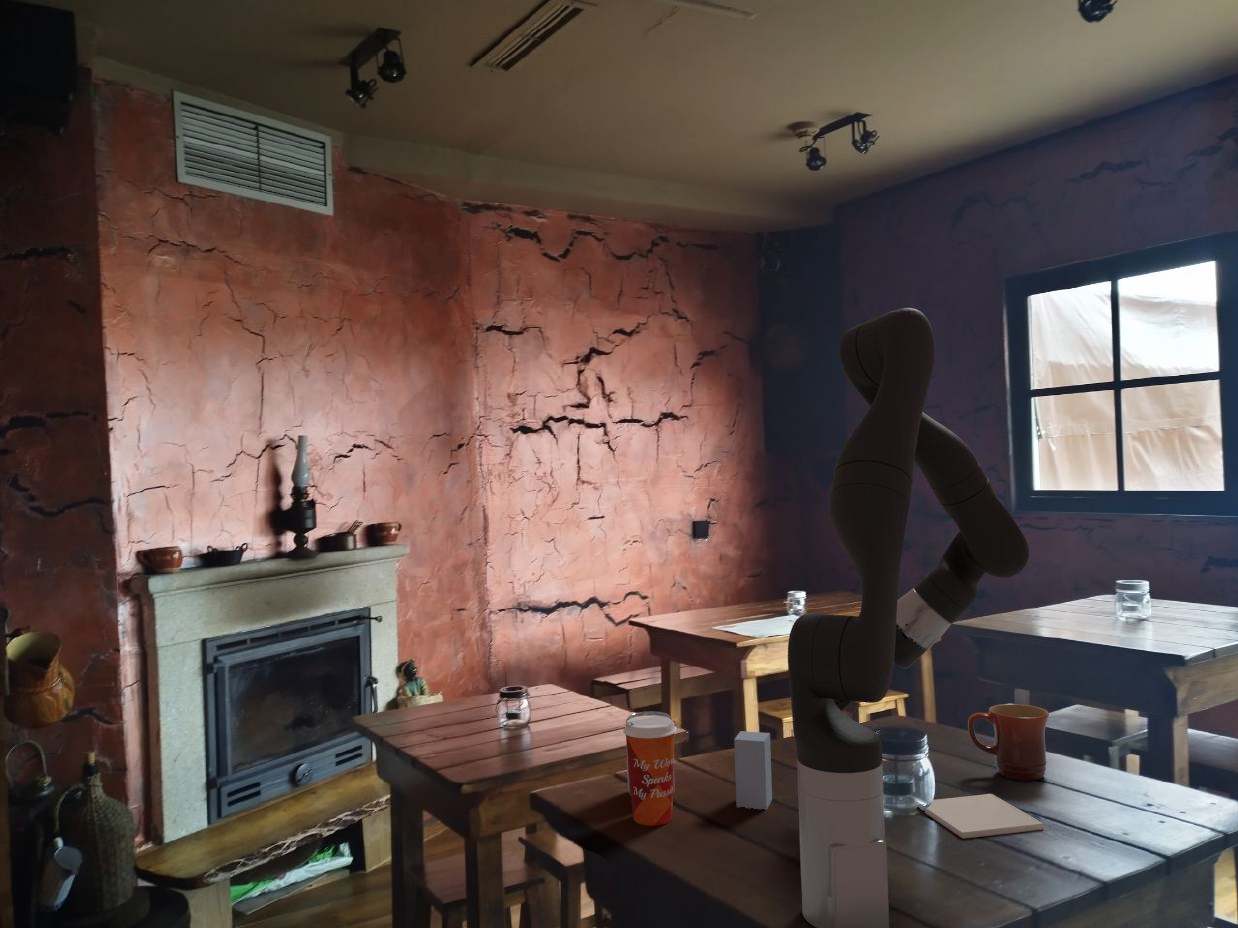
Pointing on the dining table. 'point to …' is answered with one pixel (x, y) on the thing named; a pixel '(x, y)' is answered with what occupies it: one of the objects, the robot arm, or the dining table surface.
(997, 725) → the mug
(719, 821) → the dining table surface
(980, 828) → the tile
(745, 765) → the block
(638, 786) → the paper cup
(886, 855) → the robot arm
